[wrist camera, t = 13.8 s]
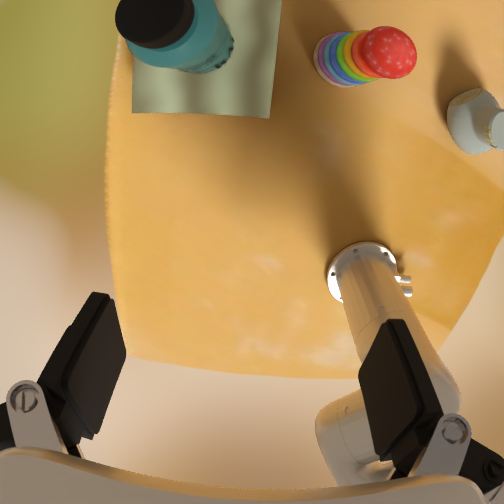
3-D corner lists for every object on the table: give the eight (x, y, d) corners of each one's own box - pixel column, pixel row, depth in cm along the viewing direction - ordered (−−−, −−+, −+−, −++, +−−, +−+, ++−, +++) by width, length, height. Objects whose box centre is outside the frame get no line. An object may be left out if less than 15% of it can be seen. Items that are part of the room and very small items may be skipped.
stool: (279, 4, 32) (283, -12, 25) (267, 112, 40) (269, 118, 33) (161, 2, 31) (141, -12, 24) (152, 107, 39) (131, 113, 32)
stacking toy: (327, 95, 38) (373, 107, 22) (302, 44, 35) (332, 18, 18) (377, 77, 36) (448, 81, 20) (353, 26, 33) (412, -2, 16)
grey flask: (477, 82, 34) (517, 89, 25) (494, 126, 37) (532, 141, 29) (432, 108, 38) (469, 119, 29) (451, 154, 41) (487, 174, 32)
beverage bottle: (166, 45, 28) (69, 18, 11) (215, 10, 26) (164, -61, 9) (199, 86, 31) (130, 94, 14) (249, 52, 29) (236, 14, 12)
